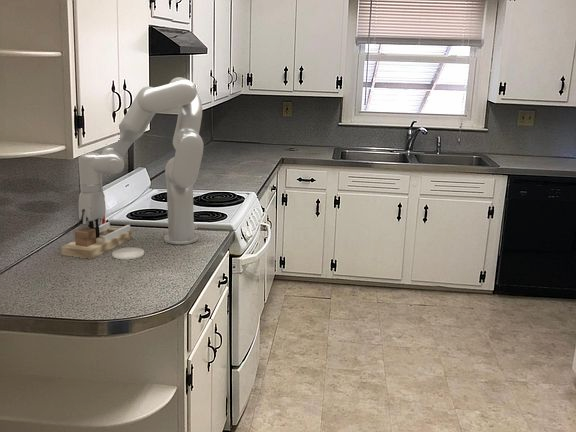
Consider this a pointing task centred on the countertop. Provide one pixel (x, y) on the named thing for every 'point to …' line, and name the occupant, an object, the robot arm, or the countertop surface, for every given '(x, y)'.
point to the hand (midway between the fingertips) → (94, 237)
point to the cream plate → (128, 253)
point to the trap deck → (100, 242)
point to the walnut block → (85, 237)
